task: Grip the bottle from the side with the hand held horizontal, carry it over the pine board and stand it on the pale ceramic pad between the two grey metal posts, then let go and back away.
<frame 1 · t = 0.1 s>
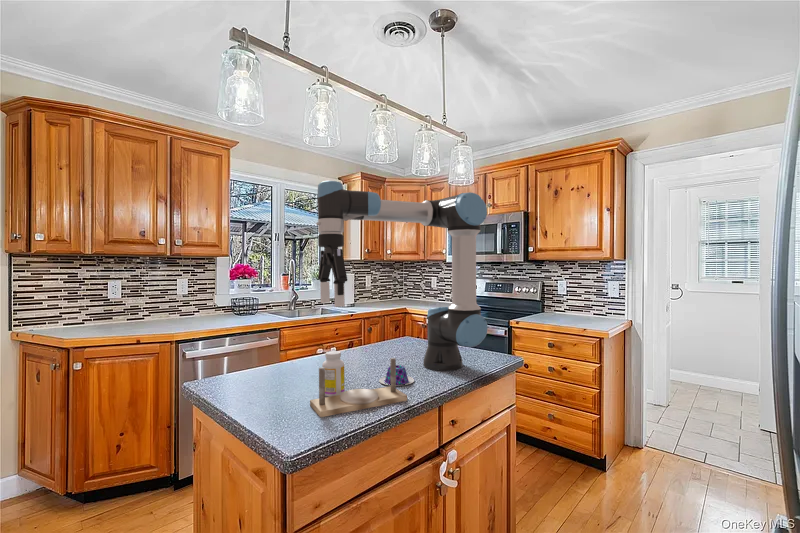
hand: (332, 304, 119), 28 cm above the counter, tool pointing down, fingers open, 13 cm apart
board: (359, 402, 114), on the counter
supplement bottle: (333, 394, 122), on the counter
pudding: (396, 382, 135), on the counter
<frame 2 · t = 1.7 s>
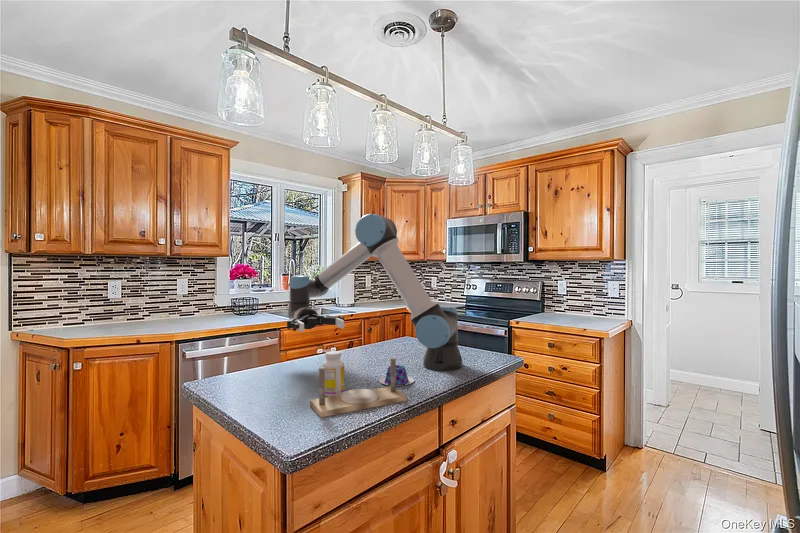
hand: (323, 326, 130), 20 cm above the counter, tool horizontal, fingers open, 13 cm apart
nothing on the counter moved.
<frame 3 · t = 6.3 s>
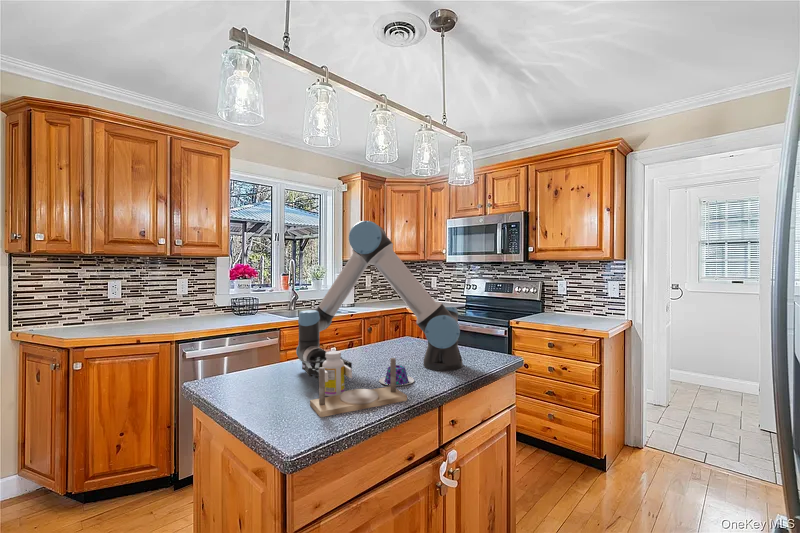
hand: (338, 375, 118), 7 cm above the counter, tool horizontal, fingers closed on supplement bottle, 7 cm apart
supplement bottle: (333, 394, 122), on the counter, touching gripper
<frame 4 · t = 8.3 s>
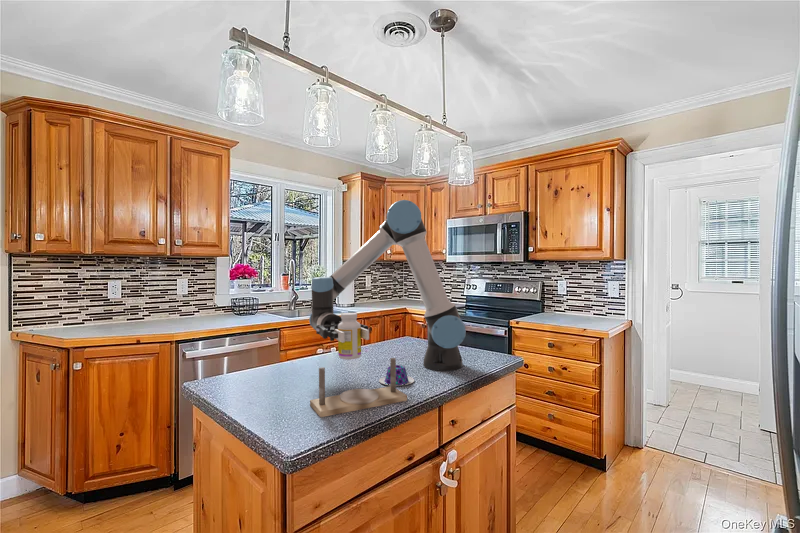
hand: (355, 336, 111), 20 cm above the counter, tool horizontal, fingers closed on supplement bottle, 7 cm apart
supplement bottle: (349, 358, 116), point 12 cm above the counter, touching gripper
everything else where it was.
when the fingers open (10 cm above the counter, at t = 10.7 s): supplement bottle drops 1 cm, resting on board.
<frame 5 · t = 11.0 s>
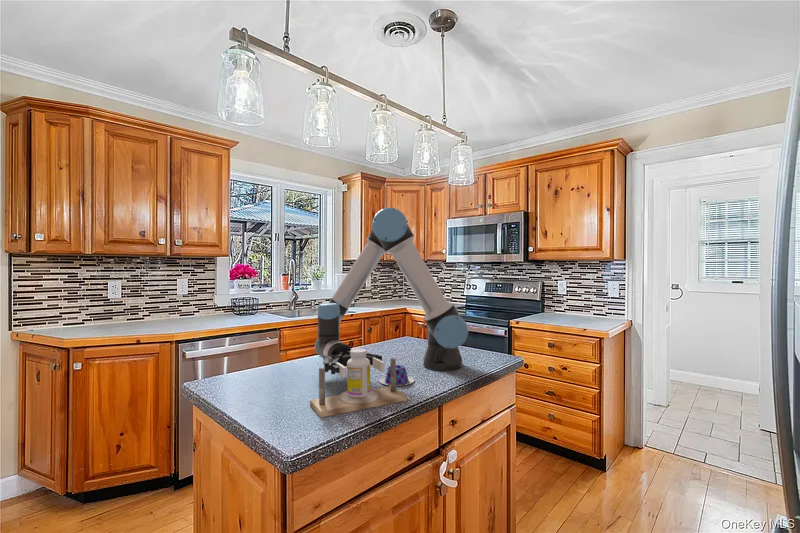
hand: (364, 369, 111), 10 cm above the counter, tool horizontal, fingers open, 11 cm apart
supplement bottle: (358, 395, 114), point 2 cm above the counter, touching board
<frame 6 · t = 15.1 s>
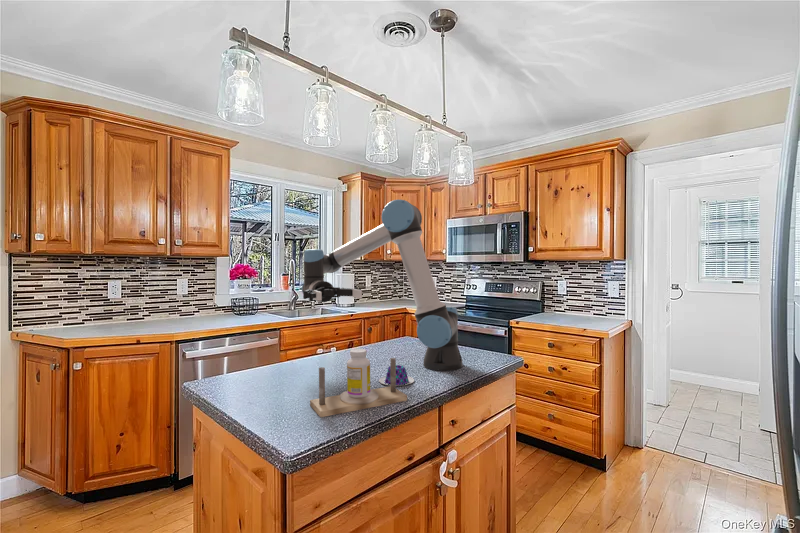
hand: (341, 295, 127), 30 cm above the counter, tool horizontal, fingers open, 13 cm apart
at the end: supplement bottle inside the target area on the board (0.1 cm from its centre), point 2.1 cm above the board's base; supplement bottle tilted 0°; the gripper is holding nothing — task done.
